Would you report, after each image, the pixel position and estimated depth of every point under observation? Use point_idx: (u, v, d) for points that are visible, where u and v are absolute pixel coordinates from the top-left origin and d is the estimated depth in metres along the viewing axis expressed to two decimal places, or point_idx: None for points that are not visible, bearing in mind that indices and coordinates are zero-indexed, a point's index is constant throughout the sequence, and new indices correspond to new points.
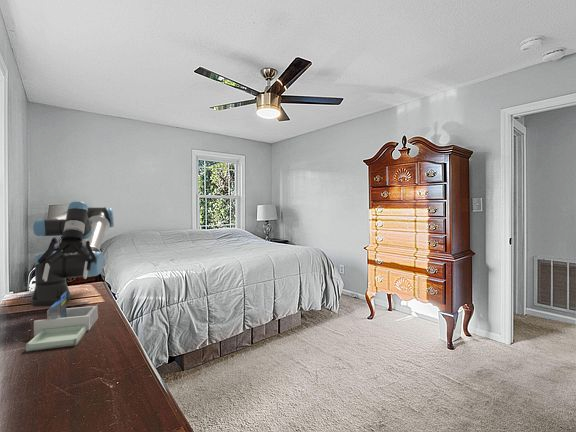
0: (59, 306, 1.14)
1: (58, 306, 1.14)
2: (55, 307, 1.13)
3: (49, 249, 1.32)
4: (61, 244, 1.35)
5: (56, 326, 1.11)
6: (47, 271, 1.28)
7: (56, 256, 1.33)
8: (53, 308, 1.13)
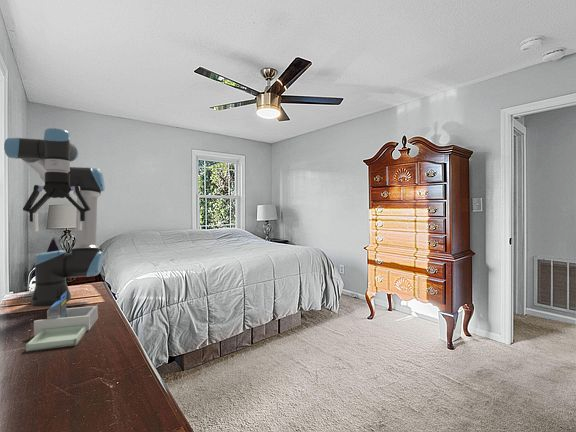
0: (59, 306, 1.14)
1: (58, 306, 1.14)
2: (55, 307, 1.13)
3: (33, 194, 1.15)
4: (46, 188, 1.16)
5: (56, 326, 1.11)
6: (36, 221, 1.16)
7: (43, 202, 1.17)
8: (53, 308, 1.13)
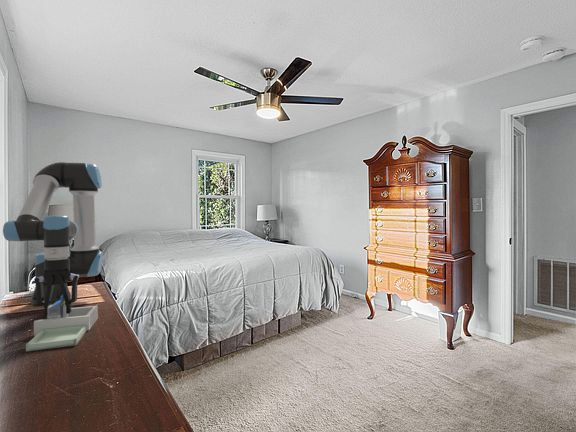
0: (59, 306, 1.14)
1: (58, 306, 1.14)
2: (55, 307, 1.13)
3: (38, 288, 1.14)
4: (46, 276, 1.15)
5: (56, 326, 1.11)
6: None
7: (51, 292, 1.16)
8: (53, 308, 1.13)
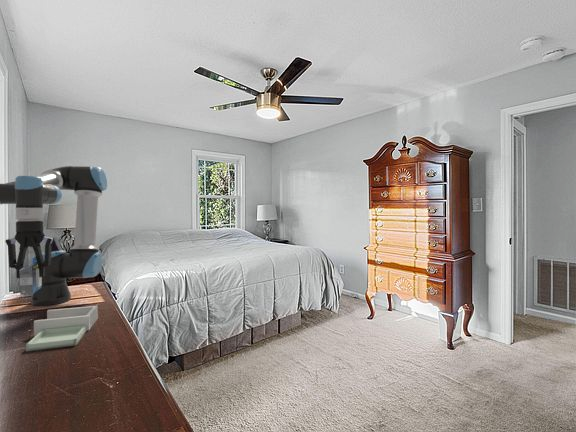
0: (31, 268, 1.11)
1: (30, 268, 1.11)
2: (27, 269, 1.10)
3: (10, 249, 1.11)
4: (18, 238, 1.12)
5: (56, 326, 1.11)
6: None
7: (24, 254, 1.14)
8: (25, 270, 1.10)
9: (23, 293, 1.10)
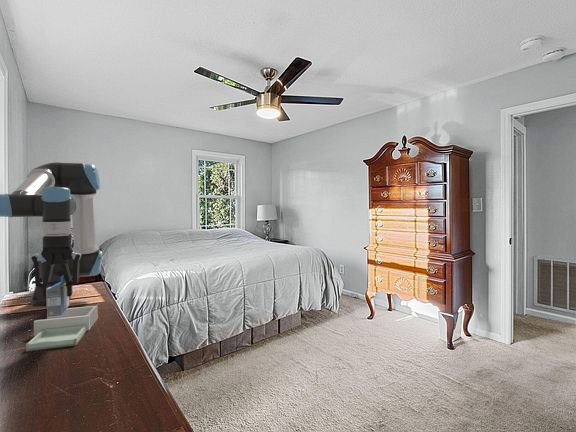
0: (59, 287, 1.02)
1: (58, 287, 1.02)
2: (55, 288, 1.01)
3: (36, 267, 1.02)
4: (44, 254, 1.03)
5: (56, 326, 1.11)
6: None
7: (50, 272, 1.05)
8: (52, 289, 1.01)
9: (51, 314, 1.01)
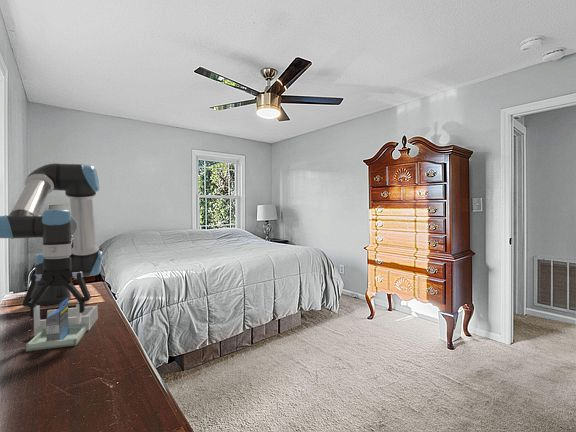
0: (58, 315, 1.02)
1: (57, 315, 1.02)
2: (53, 316, 1.01)
3: (31, 286, 1.02)
4: (44, 277, 1.03)
5: None
6: (38, 315, 1.04)
7: (43, 293, 1.04)
8: (51, 317, 1.01)
9: None
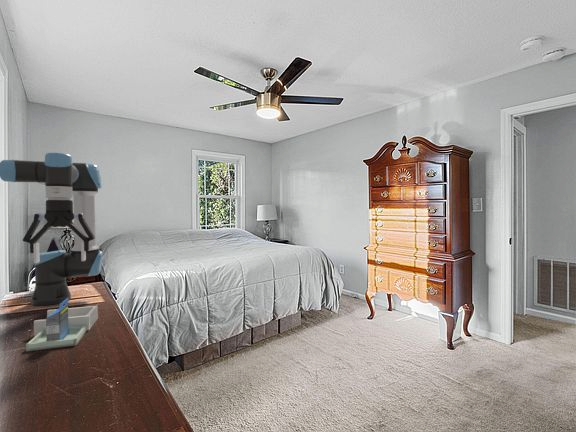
0: (58, 315, 1.02)
1: (57, 315, 1.02)
2: (53, 316, 1.01)
3: (33, 224, 1.07)
4: (47, 217, 1.08)
5: None
6: (37, 252, 1.09)
7: (44, 232, 1.09)
8: (51, 317, 1.01)
9: None
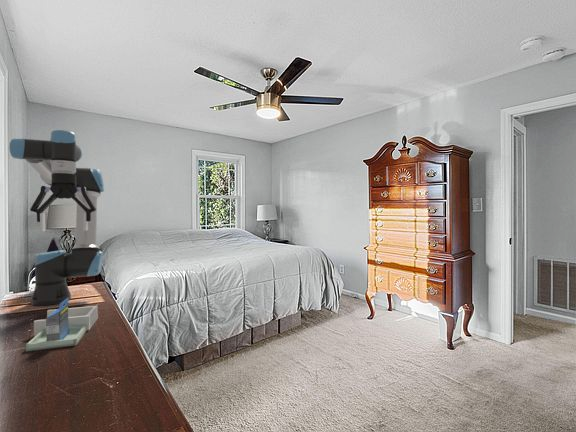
0: (58, 315, 1.02)
1: (57, 315, 1.02)
2: (53, 316, 1.01)
3: (40, 195, 1.17)
4: (52, 189, 1.18)
5: None
6: (43, 221, 1.18)
7: (50, 203, 1.19)
8: (51, 317, 1.01)
9: None
